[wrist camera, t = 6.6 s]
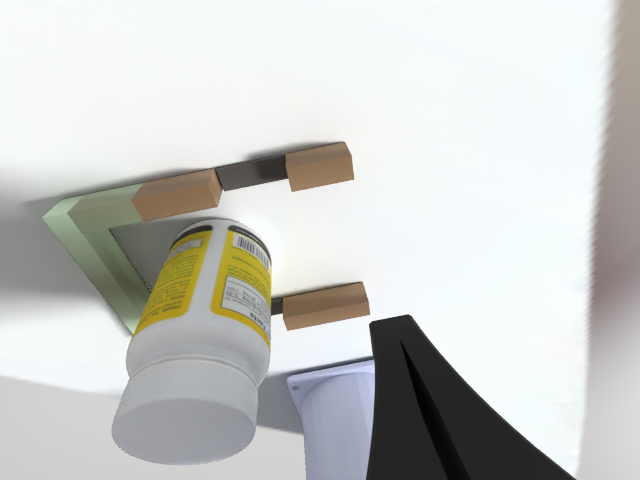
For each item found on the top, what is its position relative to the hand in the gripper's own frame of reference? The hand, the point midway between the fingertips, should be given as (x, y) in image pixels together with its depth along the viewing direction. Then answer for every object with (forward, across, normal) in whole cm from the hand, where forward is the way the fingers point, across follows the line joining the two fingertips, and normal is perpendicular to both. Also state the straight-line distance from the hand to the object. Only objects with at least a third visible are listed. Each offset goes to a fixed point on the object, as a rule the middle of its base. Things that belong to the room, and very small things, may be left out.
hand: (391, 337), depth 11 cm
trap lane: (+6, +6, 0) cm, 8 cm away
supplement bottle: (+6, +7, 0) cm, 9 cm away
